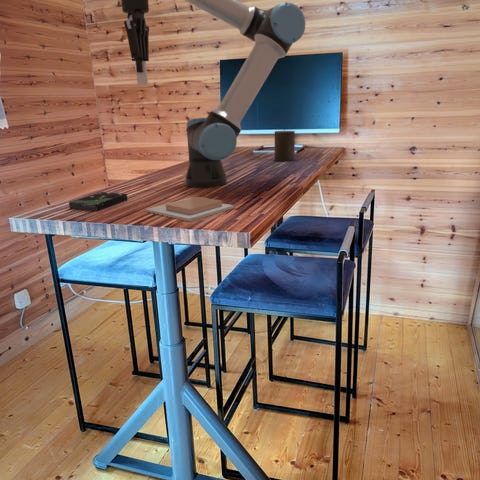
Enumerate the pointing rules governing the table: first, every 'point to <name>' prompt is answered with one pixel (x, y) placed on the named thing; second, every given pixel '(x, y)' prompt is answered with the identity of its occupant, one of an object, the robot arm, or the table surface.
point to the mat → (162, 211)
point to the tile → (193, 205)
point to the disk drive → (97, 201)
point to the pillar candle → (284, 145)
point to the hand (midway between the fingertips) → (142, 84)
